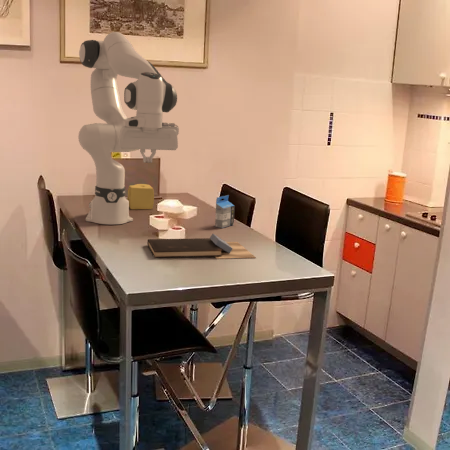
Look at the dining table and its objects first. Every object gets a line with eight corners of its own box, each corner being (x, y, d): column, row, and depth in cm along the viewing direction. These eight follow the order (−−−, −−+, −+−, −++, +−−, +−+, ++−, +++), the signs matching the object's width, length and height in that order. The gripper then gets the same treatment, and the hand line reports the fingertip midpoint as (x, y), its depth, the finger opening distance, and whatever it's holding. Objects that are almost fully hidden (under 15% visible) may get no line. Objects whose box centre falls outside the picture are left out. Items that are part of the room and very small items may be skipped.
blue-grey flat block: (209, 238, 216) (212, 233, 216) (222, 246, 218) (225, 241, 218) (215, 244, 208) (219, 240, 208) (229, 253, 210) (232, 248, 210)
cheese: (126, 204, 279) (127, 183, 276) (149, 205, 282) (150, 183, 280) (129, 209, 269) (130, 187, 267) (153, 209, 272) (154, 187, 270)
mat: (201, 243, 222) (201, 242, 222) (237, 242, 226) (237, 241, 226) (216, 258, 203) (216, 258, 203) (255, 258, 208) (255, 257, 207)
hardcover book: (221, 256, 205) (222, 250, 205) (154, 258, 199) (154, 251, 199) (210, 243, 220) (210, 237, 220) (147, 245, 214) (147, 238, 214)
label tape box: (222, 228, 246) (224, 198, 244) (214, 226, 248) (216, 197, 246) (234, 225, 254) (236, 196, 251) (226, 223, 256) (228, 194, 253)
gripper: (177, 122, 212) (175, 162, 215) (118, 119, 205) (117, 160, 209) (181, 124, 206) (179, 164, 209) (120, 121, 200) (119, 163, 203)
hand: (147, 162), depth 209 cm, fingers closed
